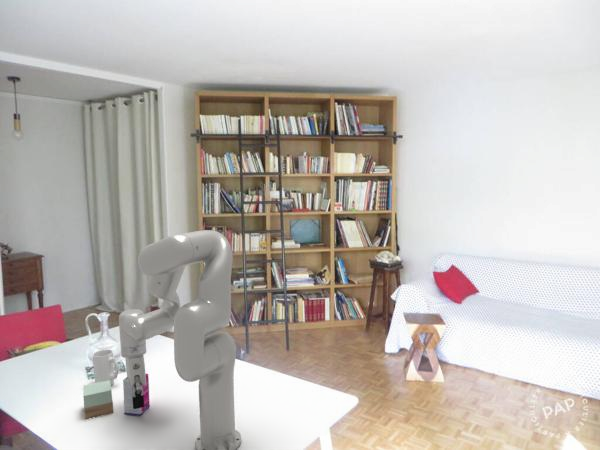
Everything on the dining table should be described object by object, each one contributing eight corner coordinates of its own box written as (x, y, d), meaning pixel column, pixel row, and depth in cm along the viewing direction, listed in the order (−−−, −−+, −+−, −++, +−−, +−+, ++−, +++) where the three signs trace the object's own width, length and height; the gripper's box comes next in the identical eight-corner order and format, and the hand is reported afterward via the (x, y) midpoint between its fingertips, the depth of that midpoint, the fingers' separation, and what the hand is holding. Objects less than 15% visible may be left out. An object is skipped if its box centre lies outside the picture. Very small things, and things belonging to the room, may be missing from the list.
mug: (90, 387, 157) (88, 355, 155) (104, 379, 163) (102, 348, 162) (112, 391, 153) (110, 358, 152) (125, 383, 159) (124, 351, 158)
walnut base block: (113, 413, 139) (112, 401, 138) (85, 420, 135) (84, 408, 135) (111, 402, 146) (110, 391, 145) (84, 409, 142) (84, 397, 142)
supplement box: (140, 416, 136) (138, 381, 135) (123, 414, 138) (121, 379, 136) (150, 406, 142) (148, 373, 141) (134, 405, 143) (132, 371, 142)
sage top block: (112, 402, 138) (111, 390, 138) (84, 408, 135) (83, 396, 134) (110, 391, 145) (110, 379, 145) (84, 397, 142) (83, 385, 142)
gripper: (150, 356, 132) (153, 411, 134) (142, 338, 147) (145, 388, 149) (123, 361, 128) (127, 417, 130) (118, 342, 144) (121, 393, 145)
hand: (136, 401), depth 139 cm, fingers closed on supplement box, 7 cm apart
